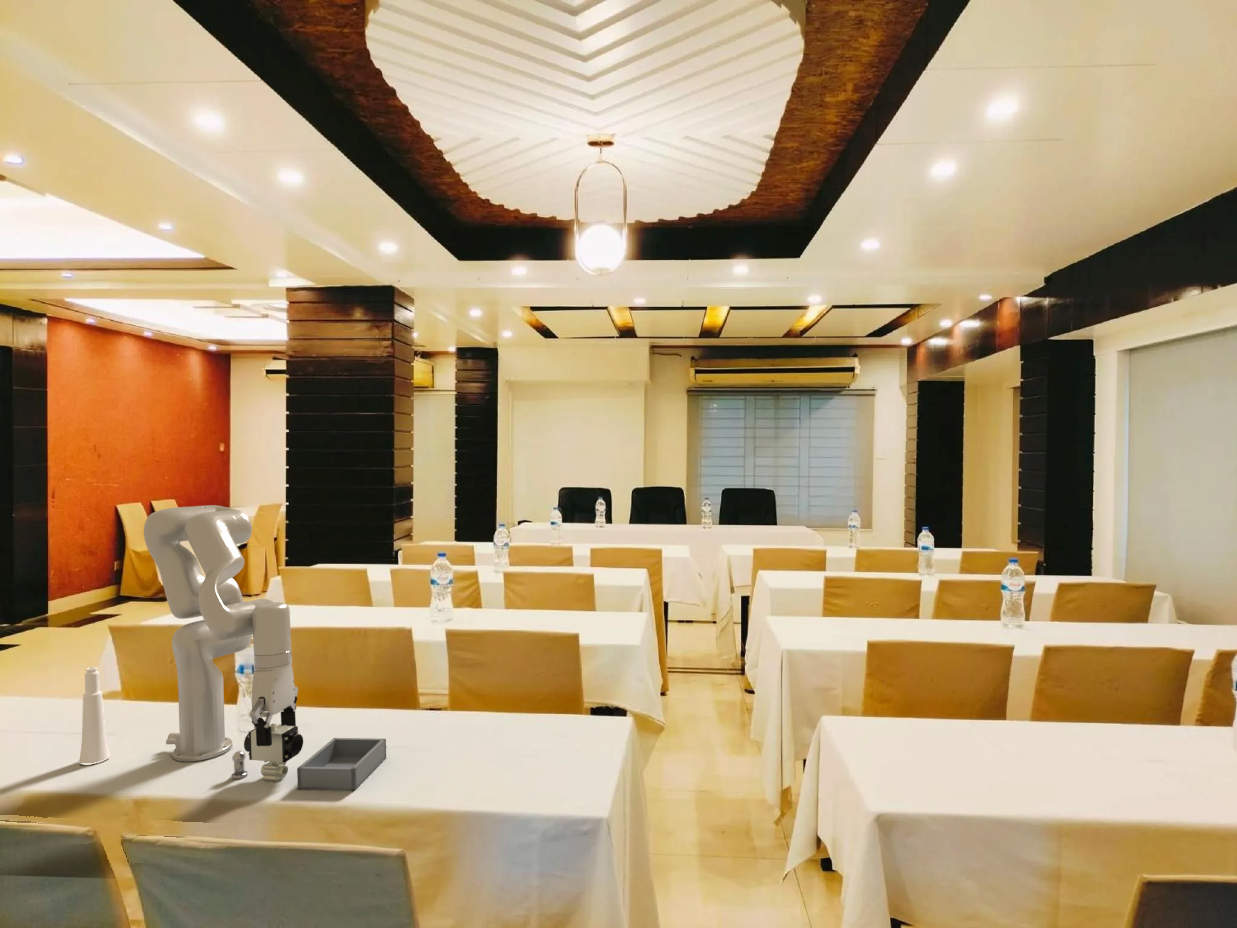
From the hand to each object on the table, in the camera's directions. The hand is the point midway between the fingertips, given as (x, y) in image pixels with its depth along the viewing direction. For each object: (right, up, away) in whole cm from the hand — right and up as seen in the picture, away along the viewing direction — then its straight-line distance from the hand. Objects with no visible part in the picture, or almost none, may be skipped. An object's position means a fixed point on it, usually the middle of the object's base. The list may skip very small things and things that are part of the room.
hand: (276, 736), depth 162 cm
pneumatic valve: (0, -9, +1) cm, 9 cm away
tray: (+14, -9, +2) cm, 17 cm away
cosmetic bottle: (-49, -10, +12) cm, 51 cm away
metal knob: (-9, -9, +1) cm, 13 cm away
